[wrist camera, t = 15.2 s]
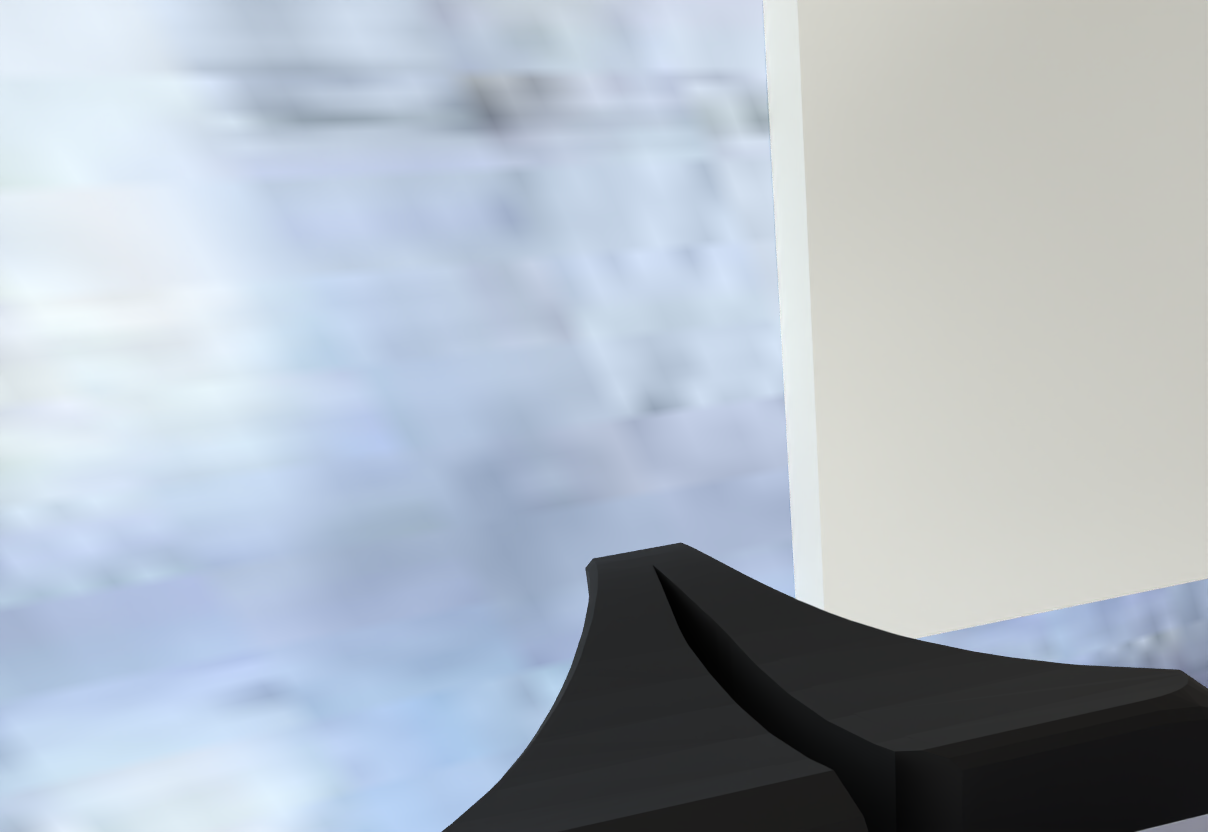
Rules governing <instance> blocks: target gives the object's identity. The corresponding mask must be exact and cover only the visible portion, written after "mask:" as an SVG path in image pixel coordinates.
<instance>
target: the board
mask: <svg viewBox="0 0 1208 832" xmlns="http://www.w3.org/2000/svg"><path fill="white" fill-rule="evenodd" d="M763 13H764V31H765V50H766V68H767V86H768V105H769V123H770V141H771V160H772V178H773V196H774V215H775V233H776V251H777V270H778V288H779V306H780V325H781V343H782V361H783V380H784V398H785V416H786V435H787V453H788V471H789V490H790V508H791V526H792V545H793V563H794V581H795V599H797V600H800V601H802V602H805V603H807V604H810V605H812V606H814V607H817V608H819V609H822V610H824V611H827V612H829V613H832V614H834V615H837V616H840V617H843V618H846V619H849V620H851V621H855V622H858V623H861V624H864V625H868V626H871V627H874V628H877V629H881V630H884V631H887V632H890V633H894V634H897V635H901V636H905V637H909V638H913V639H916V638H921V637H926V636H931V635H936V634H940V633H945V632H950V631H955V630H960V629H965V628H970V627H975V626H979V625H984V624H989V623H994V622H999V621H1004V620H1009V619H1014V618H1018V617H1023V616H1028V615H1033V614H1038V613H1043V612H1048V611H1053V610H1057V609H1062V608H1067V607H1072V606H1077V605H1082V604H1087V603H1092V602H1096V601H1101V600H1106V599H1111V598H1116V597H1121V596H1126V595H1130V594H1135V593H1140V592H1145V591H1150V590H1155V589H1160V588H1165V587H1169V586H1174V585H1179V584H1184V583H1189V582H1194V581H1199V580H1204V579H1208V0H763Z"/></svg>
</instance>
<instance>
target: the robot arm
mask: <svg viewBox="0 0 1208 832" xmlns="http://www.w3.org/2000/svg"><path fill="white" fill-rule="evenodd" d="M586 575H587V583H588V591H589V603H588V608H587V613H586V618H585V623H584V628H583V632H582V635H581V638H580V641H579V645H578V648H577V651H576V654H575V657H574V660H573V663H572V665H571V668H570V670H569V673H568V675H567V678H566V680H565V682H564V684H563V687H562V689H561V691H560V693H559V695H558V697H557V699H556V701H555V703H554V705H553V706H552V708H551V710H550V712H549V713H548V715H547V717H546V718H545V720H544V722H543V723H542V725H541V727H540V728H539V730H538V731H537V733H536V735H535V736H534V738H533V739H532V741H531V742H530V743H529V745H528V746H527V748H526V749H525V750H524V752H523V753H522V754H521V756H520V757H519V758H518V759H517V760H516V762H515V763H514V764H513V765H512V766H511V768H510V769H509V770H508V771H507V772H506V774H505V775H504V776H503V777H502V778H501V780H500V781H499V782H498V783H497V784H496V785H495V786H494V787H493V788H492V789H491V790H490V791H489V792H488V793H487V794H485V795H484V796H483V797H482V798H481V799H480V800H478V801H477V802H476V803H475V804H474V805H473V806H472V807H470V808H469V809H468V810H467V811H466V812H465V813H464V814H462V815H461V816H460V817H459V818H458V819H457V820H455V821H454V822H453V823H452V824H451V825H450V826H448V827H447V828H446V829H444V830H443V831H442V832H1208V689H1207V688H1206V687H1205V686H1203V685H1202V684H1200V683H1199V682H1197V681H1196V680H1194V679H1193V678H1191V677H1190V676H1189V675H1187V674H1186V673H1184V672H1183V671H1181V670H1173V669H1152V668H1131V667H1110V666H1089V665H1073V664H1062V663H1054V662H1045V661H1037V660H1028V659H1020V658H1011V657H1005V656H998V655H992V654H986V653H980V652H974V651H968V650H964V649H959V648H954V647H949V646H945V645H940V644H935V643H930V642H925V641H921V640H917V639H913V638H909V637H905V636H901V635H897V634H894V633H890V632H887V631H884V630H881V629H877V628H874V627H871V626H868V625H864V624H861V623H858V622H855V621H851V620H849V619H846V618H843V617H840V616H837V615H834V614H832V613H829V612H827V611H824V610H822V609H819V608H817V607H814V606H812V605H810V604H807V603H805V602H802V601H800V600H797V599H795V598H793V597H790V596H788V595H786V594H784V593H782V592H779V591H777V590H775V589H773V588H771V587H769V586H767V585H765V584H762V583H760V582H758V581H756V580H754V579H752V578H750V577H748V576H746V575H744V574H742V573H741V572H739V571H737V570H735V569H733V568H731V567H729V566H727V565H725V564H723V563H721V562H720V561H718V560H716V559H714V558H712V557H710V556H708V555H706V554H704V553H702V552H700V551H698V550H696V549H694V548H692V547H690V546H688V545H686V544H683V543H676V544H671V545H665V546H660V547H654V548H649V549H643V550H638V551H632V552H627V553H621V554H616V555H610V556H605V557H599V558H594V559H592V561H591V562H590V563H589V564H588V566H587V567H586Z"/></svg>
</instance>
